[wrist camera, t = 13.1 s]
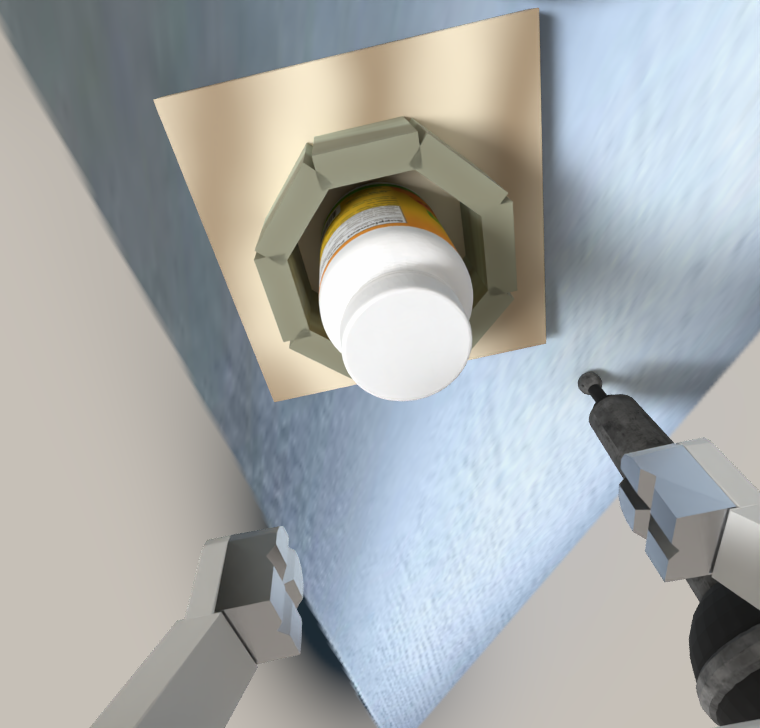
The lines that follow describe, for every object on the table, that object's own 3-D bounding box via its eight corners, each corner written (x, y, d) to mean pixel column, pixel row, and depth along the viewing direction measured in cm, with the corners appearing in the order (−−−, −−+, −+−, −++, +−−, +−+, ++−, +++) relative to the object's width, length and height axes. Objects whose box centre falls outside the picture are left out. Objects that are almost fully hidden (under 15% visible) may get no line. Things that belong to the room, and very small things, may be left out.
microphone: (621, 422, 32) (936, 833, 16) (517, 423, 32) (731, 856, 15) (659, 327, 29) (1125, 733, 12) (542, 325, 28) (864, 756, 11)
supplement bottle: (450, 272, 24) (512, 389, 16) (345, 308, 25) (354, 439, 17) (419, 160, 22) (476, 236, 13) (301, 204, 22) (287, 302, 14)
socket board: (528, 9, 20) (584, 1, 16) (538, 332, 28) (576, 386, 24) (161, 96, 21) (117, 112, 16) (276, 389, 29) (267, 452, 24)
